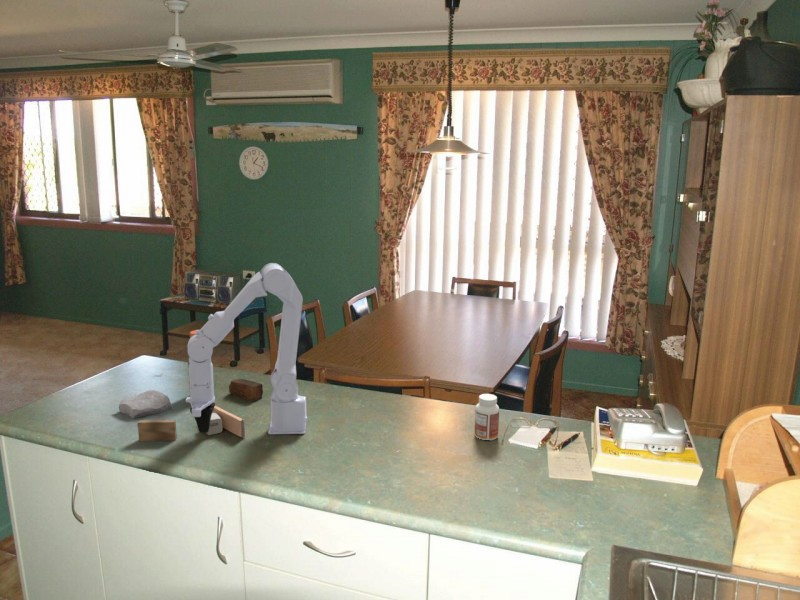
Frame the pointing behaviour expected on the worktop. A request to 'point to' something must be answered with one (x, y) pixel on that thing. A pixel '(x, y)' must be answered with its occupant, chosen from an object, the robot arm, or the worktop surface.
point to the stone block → (145, 404)
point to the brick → (246, 389)
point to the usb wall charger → (215, 424)
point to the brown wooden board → (157, 430)
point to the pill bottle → (487, 417)
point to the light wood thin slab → (231, 422)
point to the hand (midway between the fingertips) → (204, 432)
